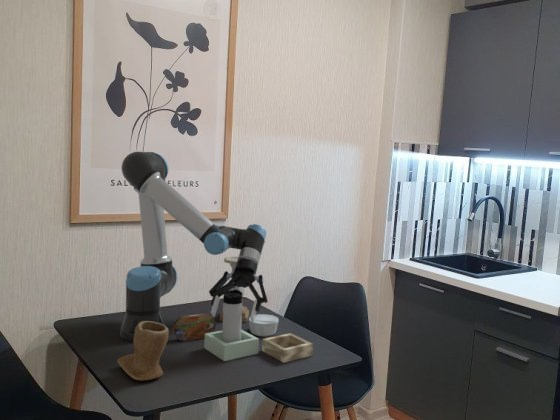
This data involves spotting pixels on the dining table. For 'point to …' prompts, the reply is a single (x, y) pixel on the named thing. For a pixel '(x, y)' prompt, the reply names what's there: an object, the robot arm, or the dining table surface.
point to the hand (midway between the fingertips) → (232, 317)
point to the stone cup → (146, 351)
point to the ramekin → (264, 325)
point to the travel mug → (232, 316)
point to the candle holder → (244, 309)
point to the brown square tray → (295, 351)
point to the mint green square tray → (231, 346)
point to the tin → (193, 326)
